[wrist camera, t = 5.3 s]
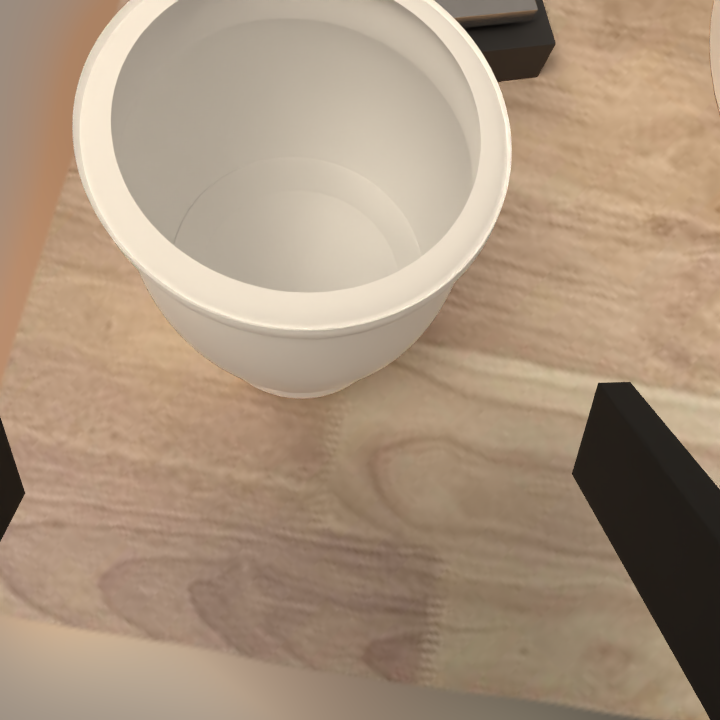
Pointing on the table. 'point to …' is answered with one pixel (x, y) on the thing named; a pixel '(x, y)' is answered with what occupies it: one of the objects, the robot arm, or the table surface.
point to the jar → (293, 174)
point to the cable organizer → (715, 49)
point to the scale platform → (489, 11)
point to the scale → (516, 45)
